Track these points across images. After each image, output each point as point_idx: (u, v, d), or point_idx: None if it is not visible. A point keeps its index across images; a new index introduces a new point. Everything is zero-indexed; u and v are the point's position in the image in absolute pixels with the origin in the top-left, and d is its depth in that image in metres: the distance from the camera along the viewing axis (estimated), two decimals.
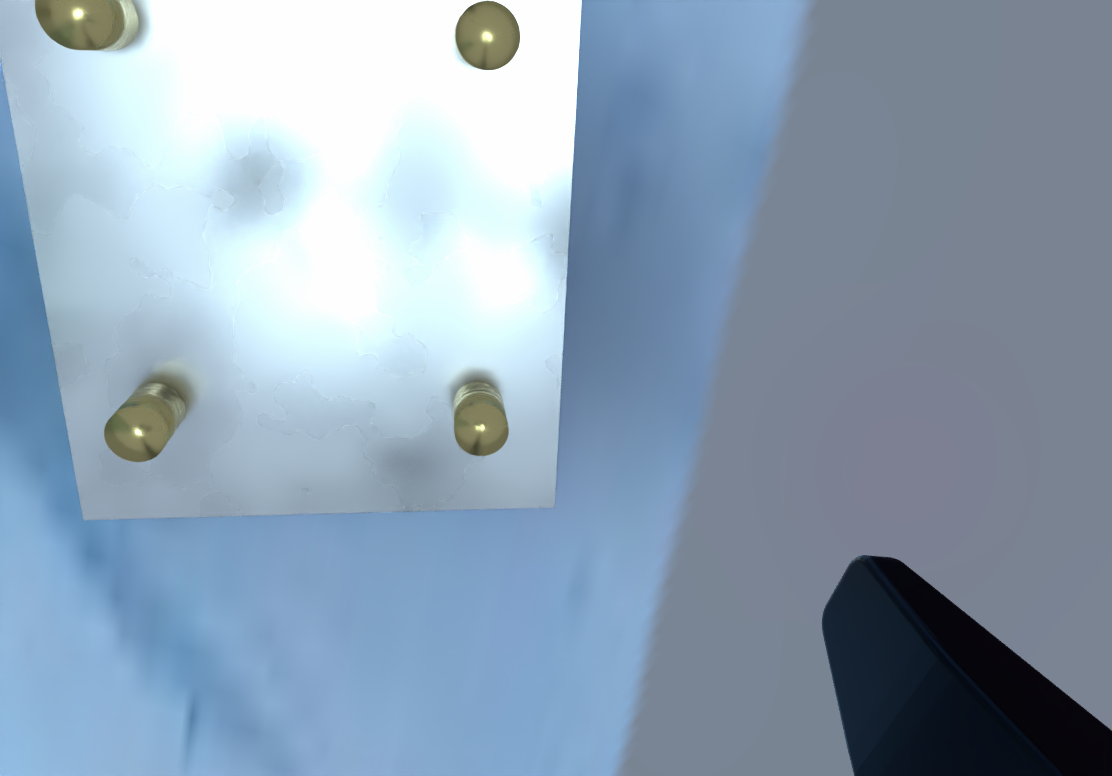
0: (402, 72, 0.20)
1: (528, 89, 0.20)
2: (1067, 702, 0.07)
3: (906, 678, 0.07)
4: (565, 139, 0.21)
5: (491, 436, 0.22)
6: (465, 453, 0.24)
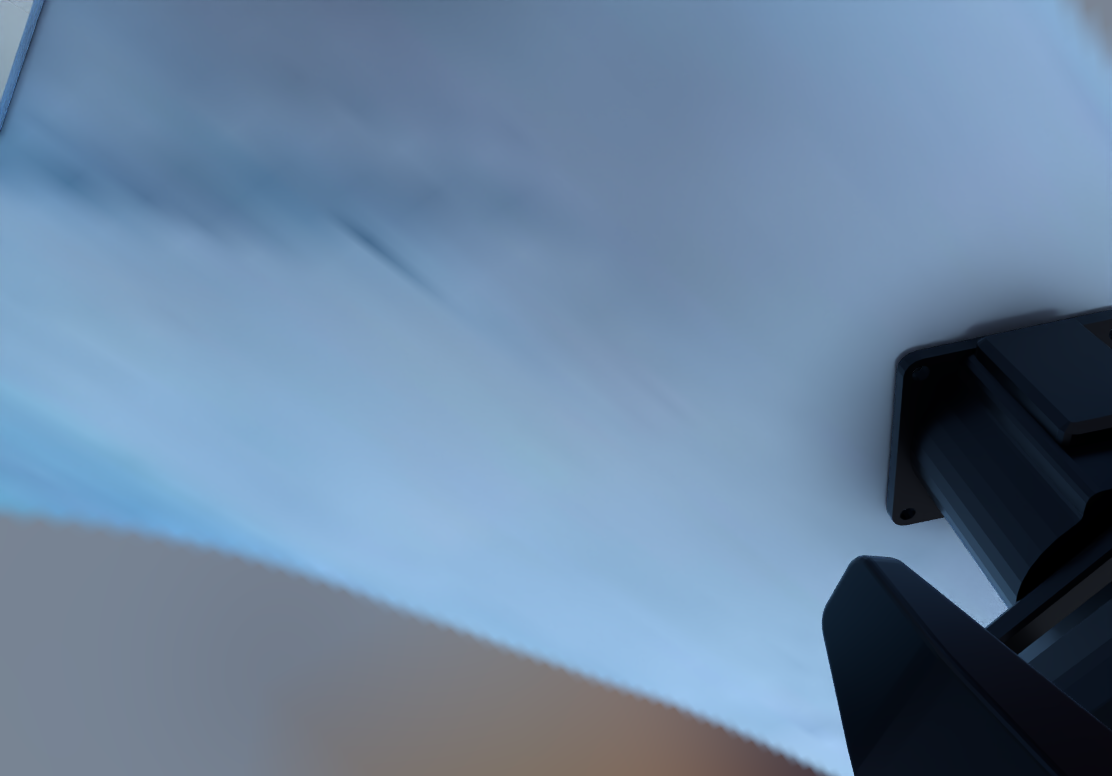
0: None
1: None
2: (1067, 702, 0.07)
3: (906, 678, 0.07)
4: None
5: None
6: None
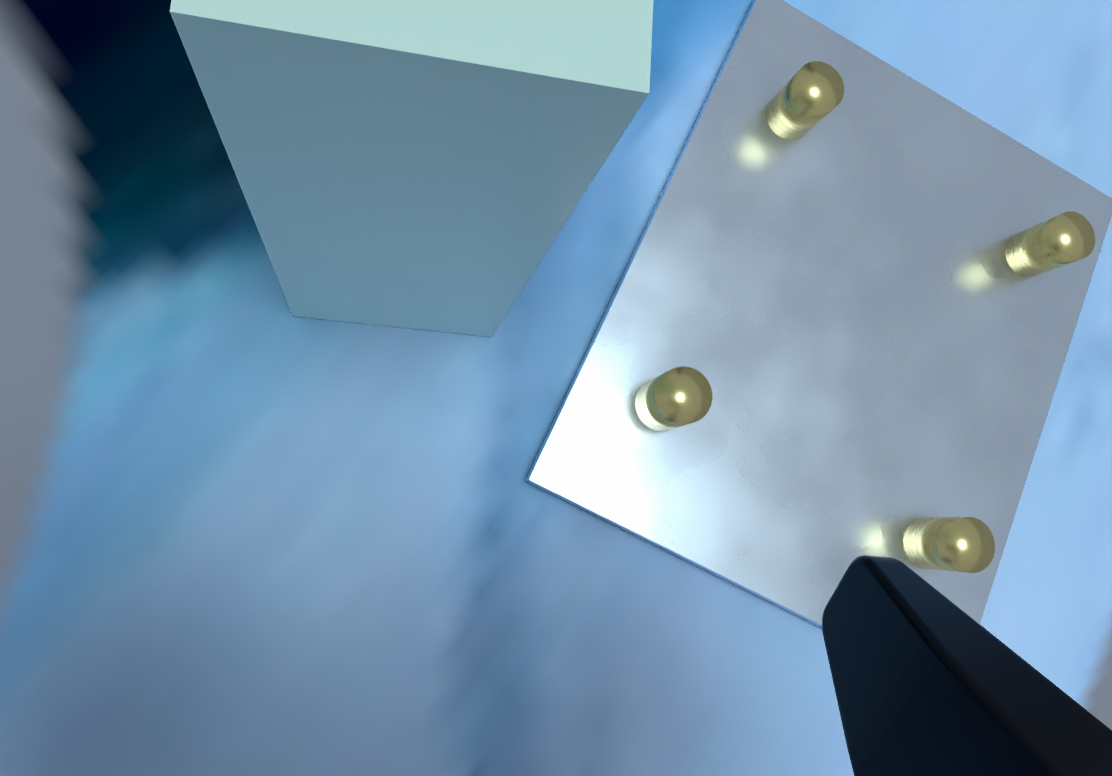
0: (964, 248, 0.25)
1: (1045, 303, 0.25)
2: (1067, 702, 0.07)
3: (906, 678, 0.07)
4: (1060, 351, 0.25)
5: (977, 554, 0.21)
6: None
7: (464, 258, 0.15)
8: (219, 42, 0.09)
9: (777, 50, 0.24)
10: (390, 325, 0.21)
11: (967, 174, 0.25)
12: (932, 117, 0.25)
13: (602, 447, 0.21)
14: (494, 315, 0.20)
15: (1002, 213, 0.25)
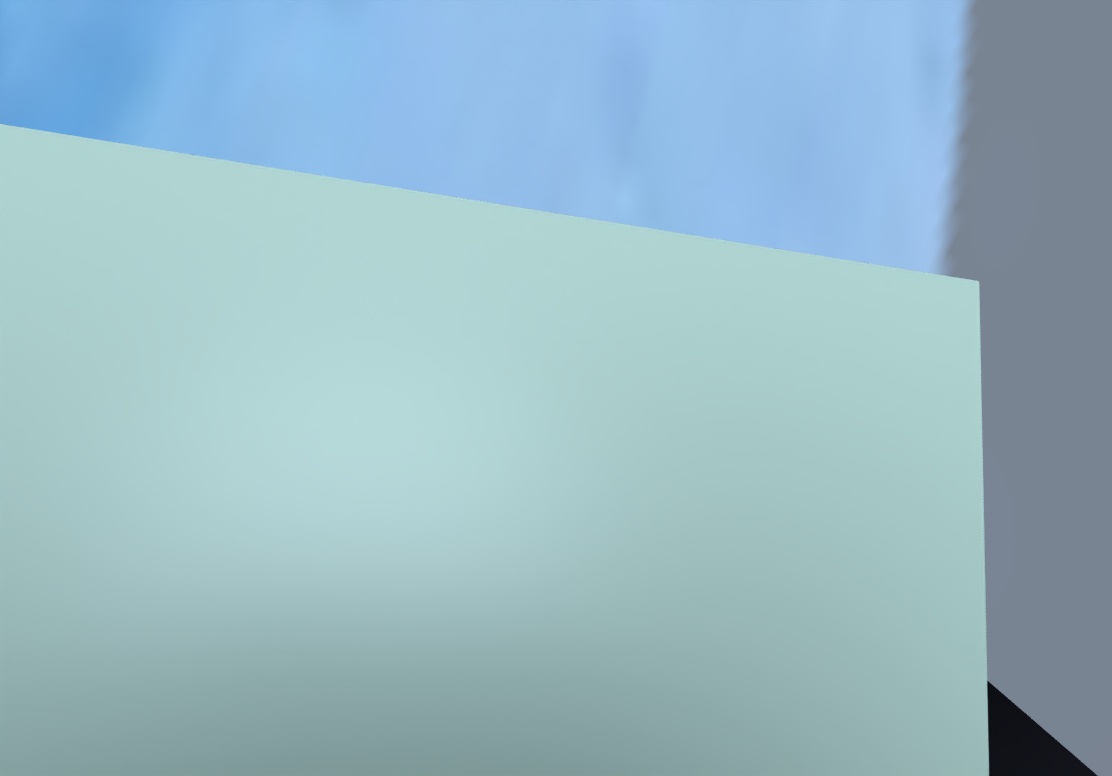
0: None
1: None
2: (998, 699, 0.06)
3: None
4: None
5: None
6: None
7: None
8: None
9: None
10: None
11: None
12: None
13: None
14: None
15: None
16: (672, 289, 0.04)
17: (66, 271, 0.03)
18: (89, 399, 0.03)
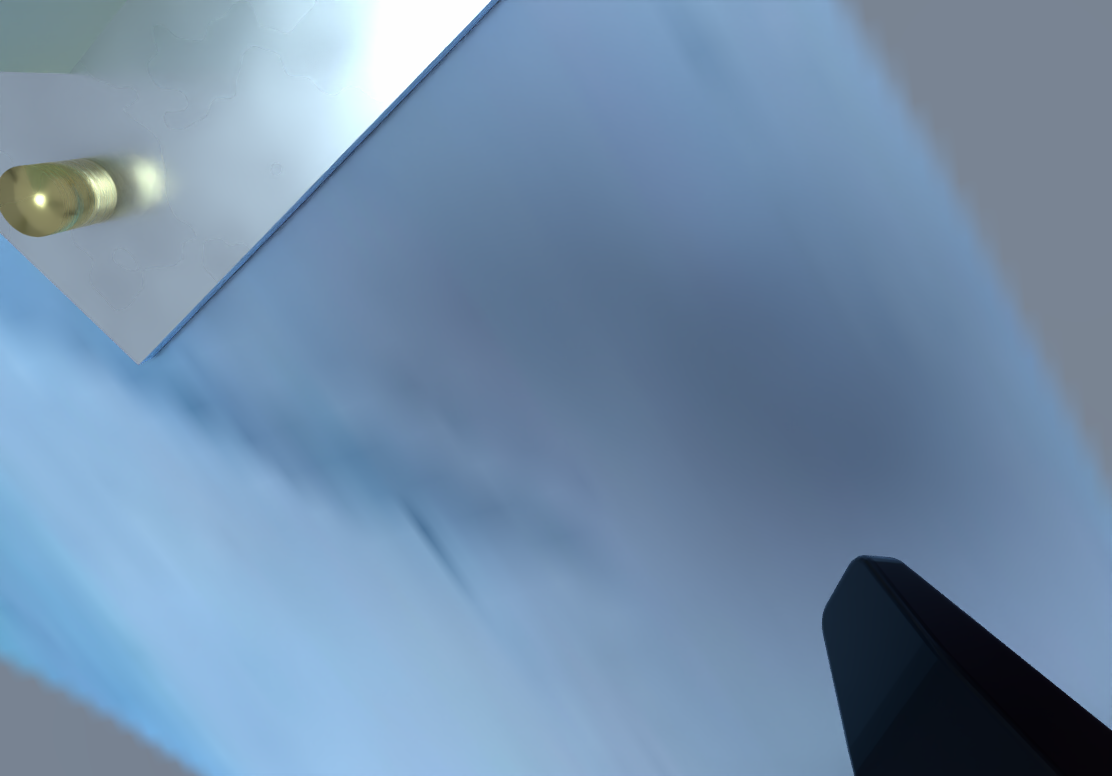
0: None
1: None
2: (1067, 702, 0.07)
3: (906, 678, 0.07)
4: None
5: None
6: None
7: None
8: None
9: None
10: None
11: None
12: None
13: (121, 277, 0.19)
14: None
15: None
16: None
17: None
18: None
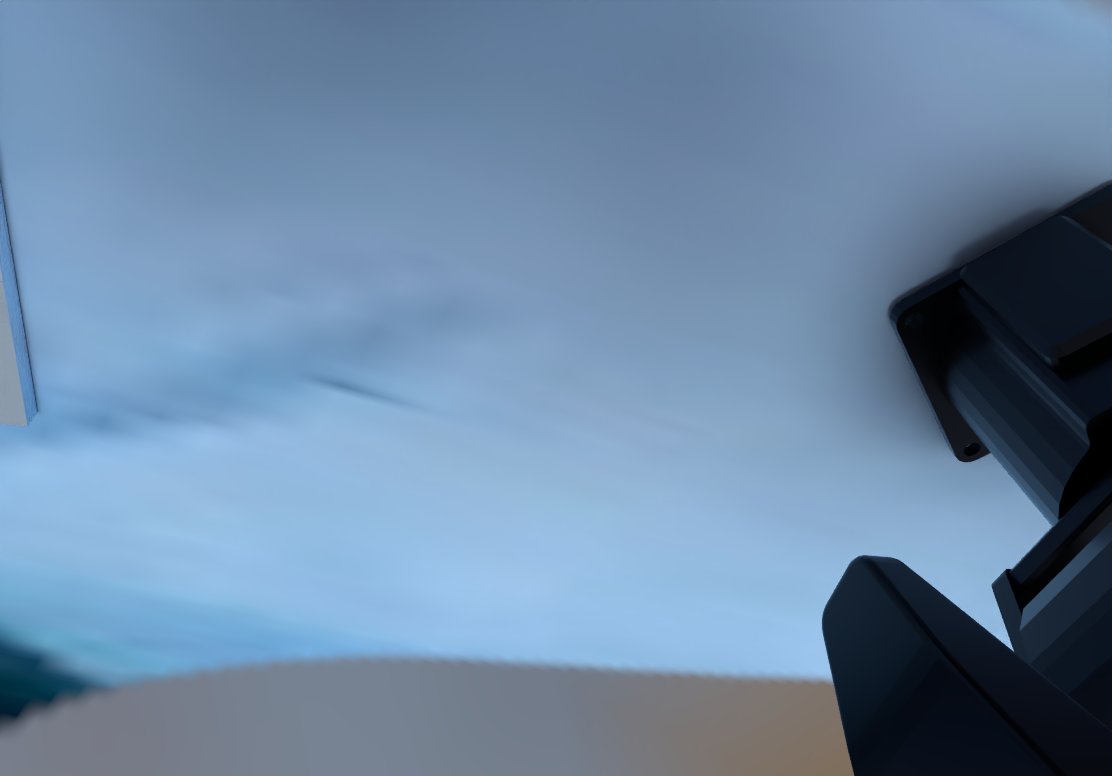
0: None
1: None
2: (1067, 702, 0.07)
3: (906, 678, 0.07)
4: None
5: None
6: None
7: None
8: None
9: None
10: None
11: None
12: None
13: None
14: None
15: None
16: None
17: None
18: None
